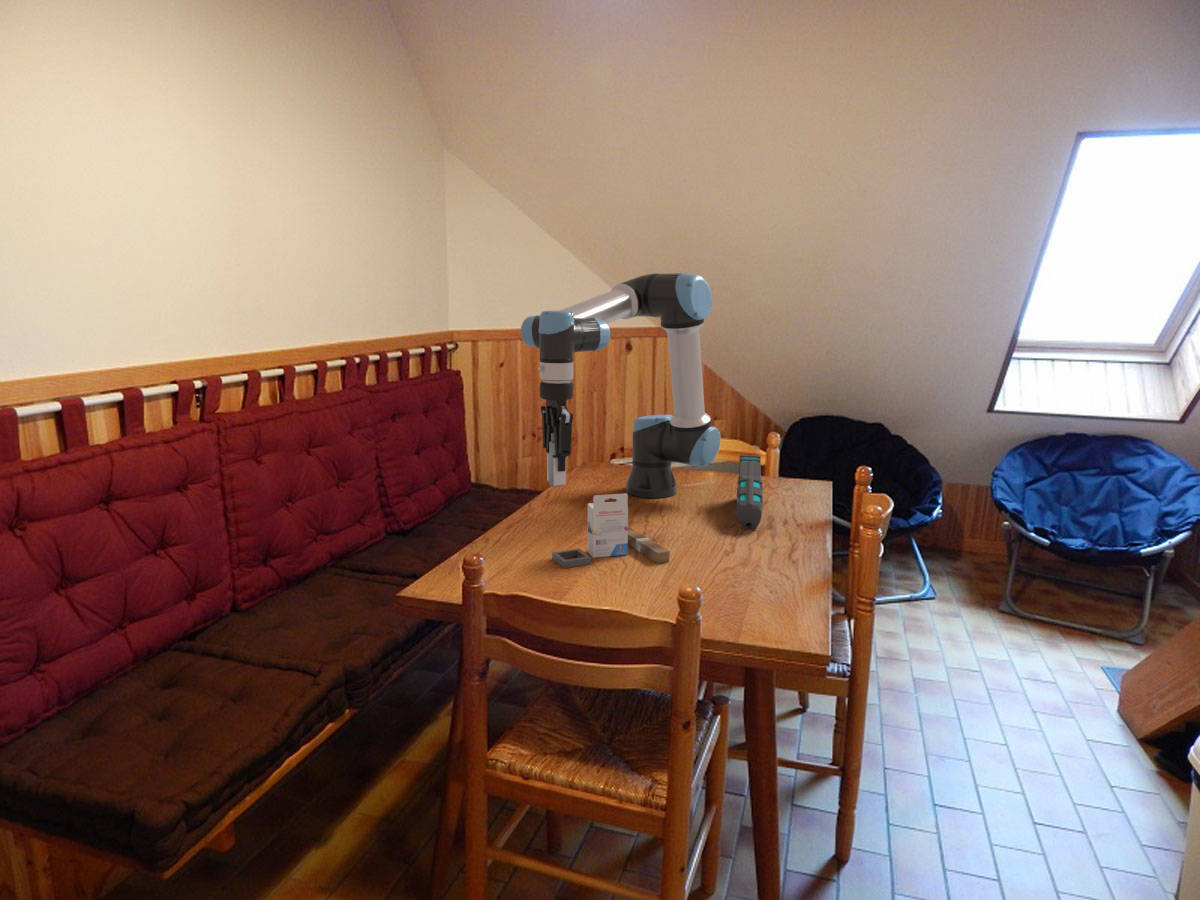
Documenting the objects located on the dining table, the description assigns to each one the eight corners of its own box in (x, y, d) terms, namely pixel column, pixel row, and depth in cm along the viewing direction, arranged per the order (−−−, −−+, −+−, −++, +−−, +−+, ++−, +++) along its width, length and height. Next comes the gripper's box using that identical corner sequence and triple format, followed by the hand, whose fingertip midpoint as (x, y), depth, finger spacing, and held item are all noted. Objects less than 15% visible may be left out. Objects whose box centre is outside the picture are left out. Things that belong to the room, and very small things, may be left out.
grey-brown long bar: (609, 532, 192) (609, 522, 192) (620, 531, 194) (620, 521, 193) (657, 563, 171) (657, 552, 171) (669, 561, 173) (669, 550, 172)
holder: (552, 558, 173) (552, 552, 173) (578, 554, 176) (578, 548, 176) (563, 568, 168) (563, 561, 167) (591, 564, 170) (591, 557, 170)
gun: (759, 493, 225) (762, 449, 217) (759, 555, 200) (763, 507, 192) (736, 492, 226) (738, 448, 219) (734, 553, 201) (736, 506, 194)
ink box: (621, 548, 181) (622, 487, 178) (627, 555, 176) (629, 493, 173) (586, 551, 179) (587, 489, 176) (592, 558, 174) (592, 495, 171)
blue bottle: (547, 483, 177) (547, 432, 175) (560, 482, 179) (560, 431, 176) (552, 487, 175) (552, 435, 172) (565, 485, 176) (565, 434, 173)
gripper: (527, 377, 177) (528, 476, 182) (554, 386, 163) (555, 493, 168) (557, 376, 180) (557, 473, 185) (586, 384, 166) (586, 489, 171)
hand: (556, 482), depth 177 cm, fingers closed on blue bottle, 3 cm apart
